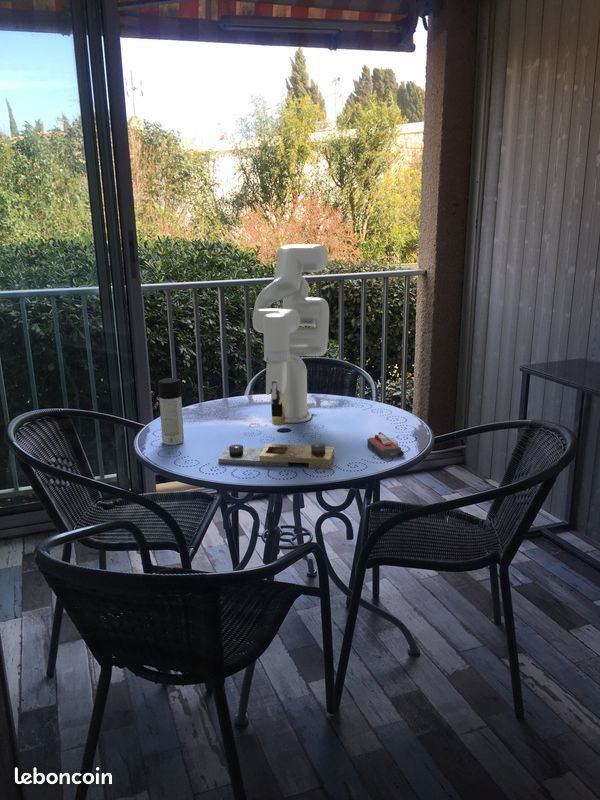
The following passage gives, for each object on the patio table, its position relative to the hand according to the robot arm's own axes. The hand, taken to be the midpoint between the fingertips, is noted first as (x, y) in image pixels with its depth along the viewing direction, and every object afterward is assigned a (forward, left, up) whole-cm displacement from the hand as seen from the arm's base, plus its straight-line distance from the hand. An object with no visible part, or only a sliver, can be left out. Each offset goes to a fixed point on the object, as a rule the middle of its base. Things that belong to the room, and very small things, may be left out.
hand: (278, 413), depth 202 cm
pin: (0, 0, -3) cm, 3 cm away
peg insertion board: (+11, +8, -10) cm, 17 cm away
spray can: (+19, -28, -10) cm, 35 cm away
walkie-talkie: (-17, +27, -11) cm, 33 cm away
